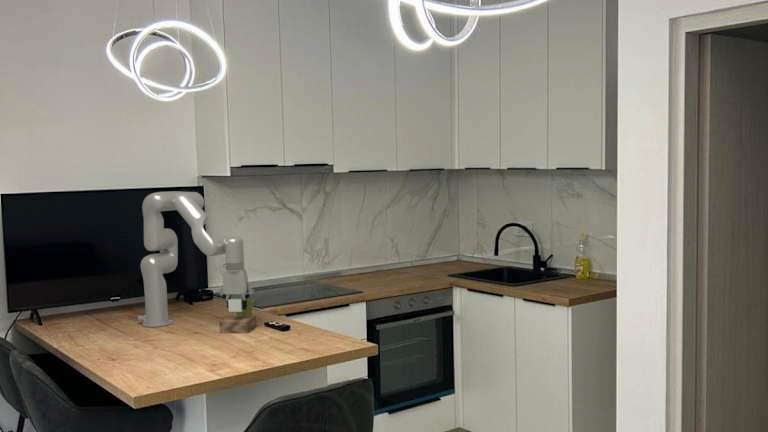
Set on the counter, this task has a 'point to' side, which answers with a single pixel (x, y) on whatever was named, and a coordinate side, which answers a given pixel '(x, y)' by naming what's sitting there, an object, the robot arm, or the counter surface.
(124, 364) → the counter surface
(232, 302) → the white small block
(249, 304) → the plant pot
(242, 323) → the walnut block
